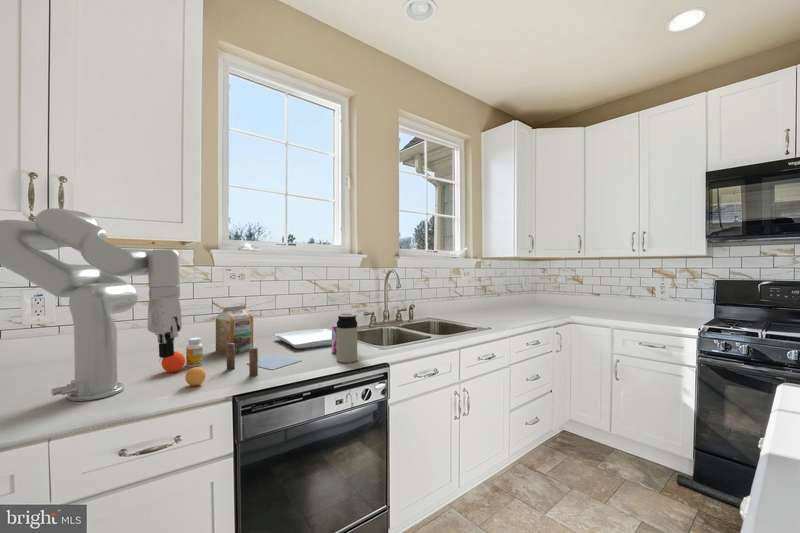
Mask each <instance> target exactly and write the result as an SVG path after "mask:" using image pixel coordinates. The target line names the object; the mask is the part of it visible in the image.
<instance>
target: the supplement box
mask: <svg viewBox="0 0 800 533" xmlns="http://www.w3.org/2000/svg"><path fill="white" fill-rule="evenodd" d="M331 330H332V345H331V354H334V355H335V354H336V355H337V324H334V325H333V326H331Z"/></svg>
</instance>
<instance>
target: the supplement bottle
mask: <svg viewBox="0 0 800 533" xmlns="http://www.w3.org/2000/svg"><path fill="white" fill-rule="evenodd" d="M187 342H188V344H187V345H186V347H185V350H186V351H185V356H186V357H185V365H186V367H190V368H194V367H199V366H202V365H203V364H204V345H203V343H201V342H202V338H201V337H191V338H188V341H187Z"/></svg>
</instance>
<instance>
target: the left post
mask: <svg viewBox="0 0 800 533" xmlns="http://www.w3.org/2000/svg"><path fill="white" fill-rule="evenodd" d="M235 357H236V354H235V343H228V344H227V354H226V370H227V371H234V370H235V368H236V366H235V364H236V358H235Z"/></svg>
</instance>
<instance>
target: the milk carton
mask: <svg viewBox="0 0 800 533" xmlns="http://www.w3.org/2000/svg"><path fill="white" fill-rule="evenodd" d="M228 343H235V355H236V354H242V353H246V352H249V349H250V348H254V316H253V314H252V313H251V312H250V310H248V309H247V305H245V304H243V305H234V306H233V305H232V306H223V307H222V311H221V312H220V313H219V314H217V315H216V317H215V352H216V351H217V352H216V353H220V352H221V353H220V354H224V353H225V354H224V355H227V344H228ZM241 352H242V353H241Z"/></svg>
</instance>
